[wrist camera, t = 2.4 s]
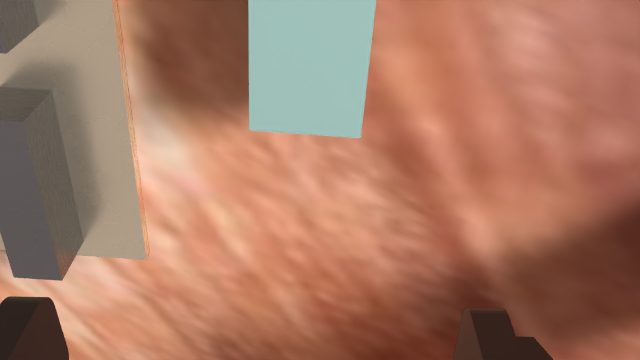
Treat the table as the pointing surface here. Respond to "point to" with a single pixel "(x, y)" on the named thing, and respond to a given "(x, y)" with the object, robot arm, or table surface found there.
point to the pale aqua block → (309, 65)
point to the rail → (66, 138)
